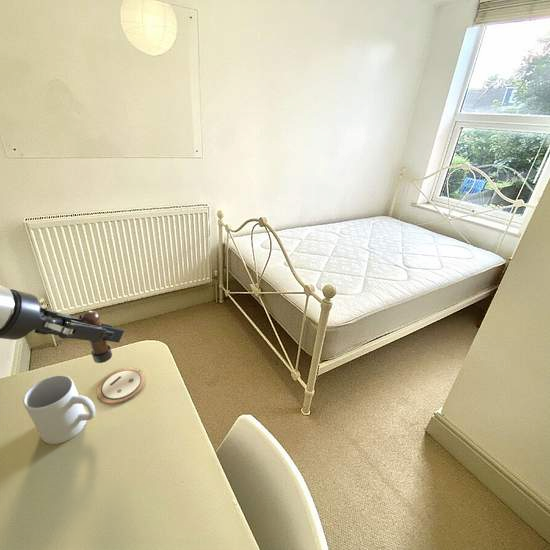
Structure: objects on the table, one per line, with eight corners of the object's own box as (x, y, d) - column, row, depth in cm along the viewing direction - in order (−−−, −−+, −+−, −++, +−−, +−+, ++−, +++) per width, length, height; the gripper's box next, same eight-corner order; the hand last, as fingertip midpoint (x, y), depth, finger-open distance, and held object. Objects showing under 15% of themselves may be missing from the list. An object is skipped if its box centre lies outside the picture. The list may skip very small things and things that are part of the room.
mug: (31, 444, 63) (11, 408, 58) (57, 408, 70) (41, 374, 65) (90, 445, 63) (75, 410, 58) (110, 409, 71) (98, 375, 65)
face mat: (86, 393, 74) (86, 391, 74) (123, 363, 83) (123, 361, 83) (119, 410, 70) (119, 409, 70) (155, 377, 79) (154, 375, 79)
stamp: (89, 359, 66) (73, 314, 60) (104, 349, 69) (90, 305, 63) (101, 365, 64) (86, 319, 59) (116, 354, 67) (102, 309, 62)
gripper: (-44, 320, 49) (82, 339, 70) (17, 352, 43) (134, 362, 64) (-19, 277, 50) (97, 308, 72) (43, 302, 45) (148, 327, 66)
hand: (114, 333), depth 68 cm, fingers closed on stamp, 3 cm apart
